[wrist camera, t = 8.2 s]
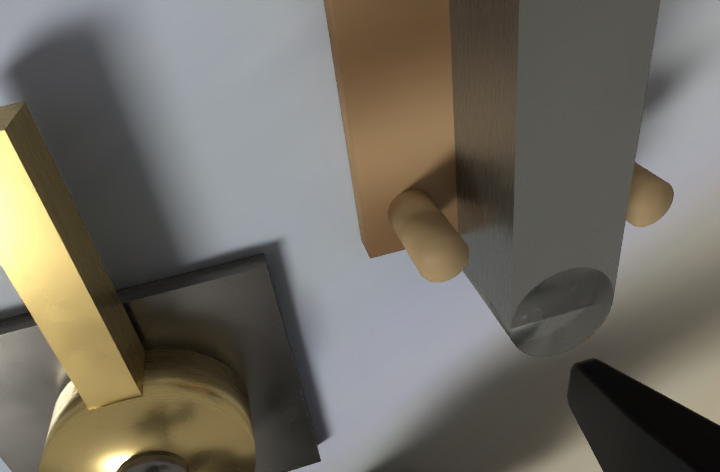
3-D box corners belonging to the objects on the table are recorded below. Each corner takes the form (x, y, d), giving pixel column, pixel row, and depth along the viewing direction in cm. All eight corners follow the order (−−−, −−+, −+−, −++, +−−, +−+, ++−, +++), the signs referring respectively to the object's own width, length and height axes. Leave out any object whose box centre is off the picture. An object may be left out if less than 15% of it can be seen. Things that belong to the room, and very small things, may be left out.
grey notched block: (544, 271, 22) (606, 339, 19) (460, 294, 22) (509, 368, 18) (586, -360, 12) (730, -445, 9) (435, -343, 12) (531, -428, 9)
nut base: (317, 446, 26) (321, 461, 25) (69, 522, 24) (66, 540, 24) (263, 253, 20) (266, 266, 19) (-71, 338, 18) (-81, 355, 18)
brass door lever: (266, 446, 24) (276, 514, 21) (97, 498, 23) (85, 575, 20) (133, 76, 15) (123, 116, 12) (-153, 134, 14) (-228, 190, 12)
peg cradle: (608, 176, 22) (686, 232, 19) (361, 240, 21) (396, 312, 17) (658, -213, 15) (795, -240, 12) (299, -158, 14) (335, -171, 11)
